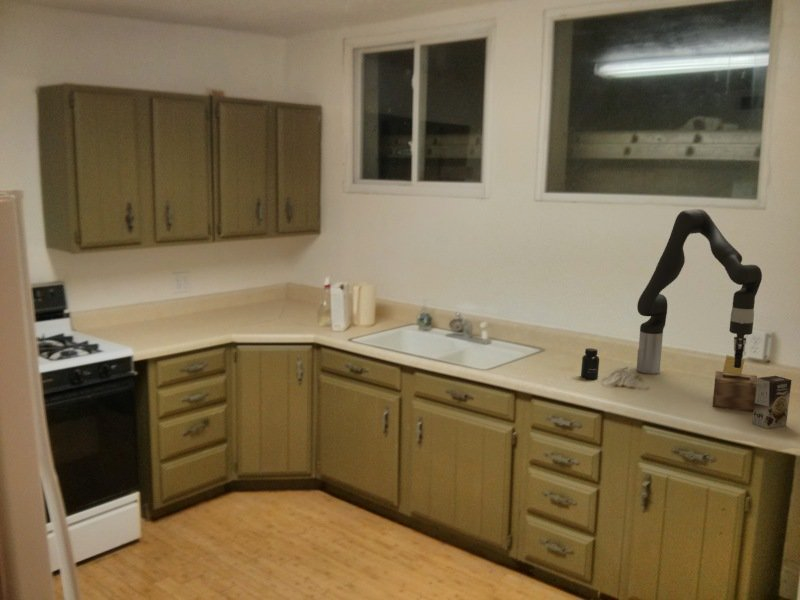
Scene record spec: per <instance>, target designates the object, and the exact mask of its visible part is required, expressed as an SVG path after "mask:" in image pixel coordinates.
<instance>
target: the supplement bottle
mask: <svg viewBox="0 0 800 600" xmlns="http://www.w3.org/2000/svg"><path fill="white" fill-rule="evenodd" d="M599 368H600V358H599V356H598V349H597V348H590V347H587V348H585V351H584V355H583V356H582V357H581V370H580V371H581V372H580V377H581V379H584V380H588V381H595V380H598V377H599V370H600V369H599Z"/></svg>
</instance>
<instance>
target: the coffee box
mask: <svg viewBox="0 0 800 600" xmlns="http://www.w3.org/2000/svg"><path fill="white" fill-rule="evenodd" d="M757 379H758V380H757V389H756V397H755V406H754V412H753V416H752V424H754V425H757V426H760V427H762V428H764V429H769V430H770V429H772V428H773V429H774V427H775V428H781V427H785V426H787V422H788V421H787V420H788V414H789V413H788V411H789V405H790V397H791V388H792V379H789V378H786V377H783V376H777V375H769V376H763V377H757Z"/></svg>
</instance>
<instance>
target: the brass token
mask: <svg viewBox="0 0 800 600" xmlns="http://www.w3.org/2000/svg"><path fill="white" fill-rule="evenodd" d="M734 363H735V356H732V355H728V354H726V356H725V361H724V366H723V369H722V372H724V373H729V374H733V375H738V376H741V374H743V373H742V372H743V368H744V365H745V358H743V357H742V361H741V368H735V367H734Z"/></svg>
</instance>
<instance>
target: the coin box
mask: <svg viewBox="0 0 800 600" xmlns="http://www.w3.org/2000/svg"><path fill="white" fill-rule="evenodd" d="M714 373H715V374H714V386H713V393H712V394H713V396H712V408H719V409H720V408H721V409H726V408H728V410H735V411H741V412H742V411H743V412H751V413H754V406H755V397H756V389H757V380H758V375H754V374H746V373H745V374H744V373H741V376H738V375H733V374H729V373H724V372H723V371H717V370H715V372H714Z"/></svg>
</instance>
